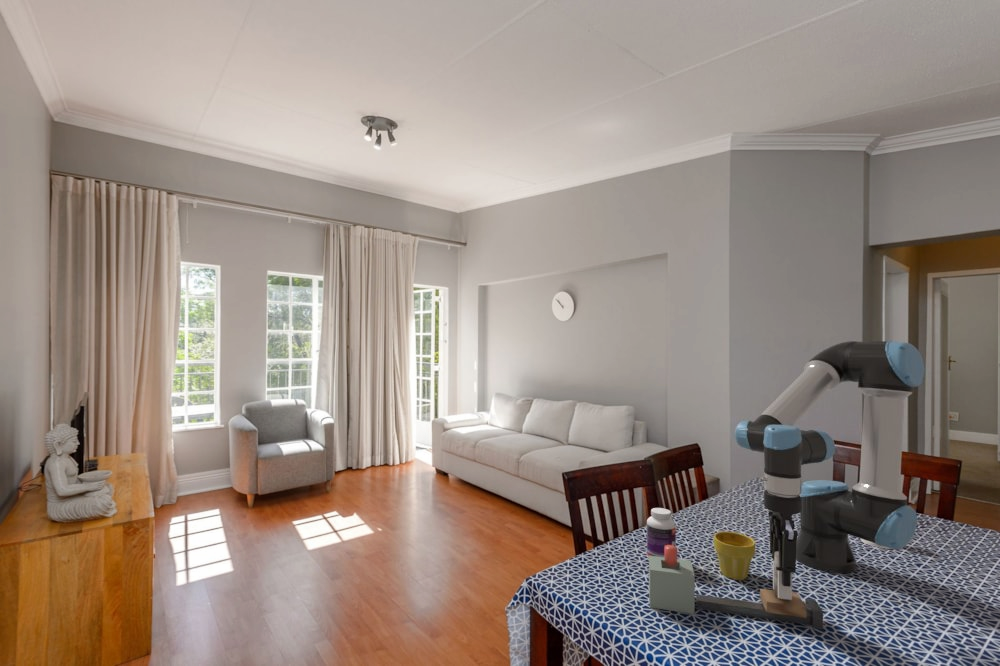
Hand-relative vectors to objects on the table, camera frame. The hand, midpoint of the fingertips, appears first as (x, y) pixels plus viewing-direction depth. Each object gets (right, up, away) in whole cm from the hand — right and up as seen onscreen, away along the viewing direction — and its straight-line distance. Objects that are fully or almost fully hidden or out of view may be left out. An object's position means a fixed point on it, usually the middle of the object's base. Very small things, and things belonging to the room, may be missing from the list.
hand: (782, 593), depth 112 cm
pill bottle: (-19, -6, +29) cm, 35 cm away
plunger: (-24, +4, +7) cm, 25 cm away
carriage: (0, -3, 0) cm, 3 cm away
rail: (-6, -6, +2) cm, 9 cm away
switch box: (-24, -5, +6) cm, 25 cm away
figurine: (+56, -7, +43) cm, 71 cm away
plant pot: (-1, -6, +21) cm, 22 cm away
